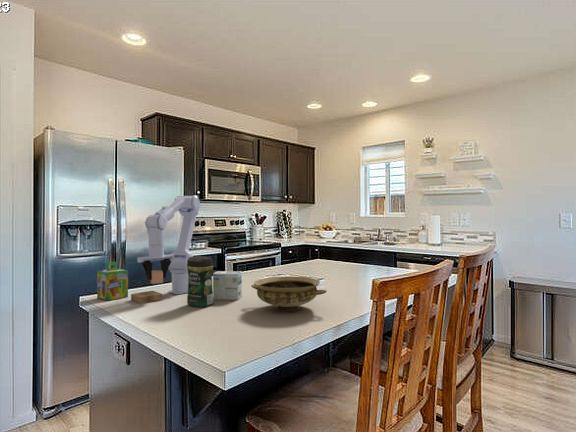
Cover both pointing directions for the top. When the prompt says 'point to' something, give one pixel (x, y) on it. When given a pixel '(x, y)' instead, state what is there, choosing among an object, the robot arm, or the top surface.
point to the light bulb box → (227, 285)
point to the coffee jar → (200, 281)
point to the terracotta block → (157, 277)
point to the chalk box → (112, 283)
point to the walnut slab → (146, 297)
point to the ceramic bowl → (287, 291)
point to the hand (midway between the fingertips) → (156, 278)
